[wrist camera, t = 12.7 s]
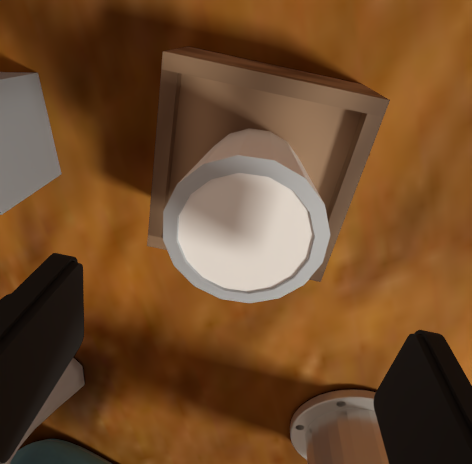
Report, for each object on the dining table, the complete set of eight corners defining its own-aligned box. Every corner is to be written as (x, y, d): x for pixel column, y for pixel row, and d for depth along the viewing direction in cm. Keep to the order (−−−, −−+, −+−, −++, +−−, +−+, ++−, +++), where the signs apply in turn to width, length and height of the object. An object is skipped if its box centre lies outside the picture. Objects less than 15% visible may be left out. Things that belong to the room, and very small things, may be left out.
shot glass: (330, 204, 21) (354, 274, 15) (227, 246, 23) (211, 322, 17) (283, 92, 18) (289, 123, 12) (170, 150, 20) (127, 201, 14)
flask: (5, 344, 37) (-77, 440, 28) (69, 338, 36) (4, 436, 27) (37, 391, 40) (-27, 490, 32) (96, 387, 39) (46, 489, 30)
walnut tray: (362, 84, 23) (389, 100, 17) (311, 234, 28) (320, 281, 23) (188, 46, 22) (162, 51, 17) (170, 205, 28) (147, 245, 23)
